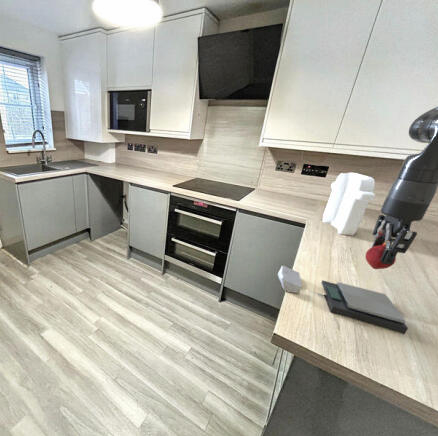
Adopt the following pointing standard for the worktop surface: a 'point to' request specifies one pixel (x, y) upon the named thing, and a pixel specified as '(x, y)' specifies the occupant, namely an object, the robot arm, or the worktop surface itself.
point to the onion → (377, 257)
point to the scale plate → (369, 302)
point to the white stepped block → (349, 201)
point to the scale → (340, 308)
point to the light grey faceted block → (290, 280)
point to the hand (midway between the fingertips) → (380, 257)
